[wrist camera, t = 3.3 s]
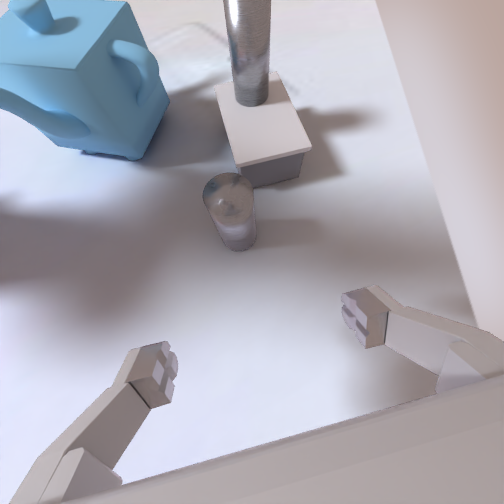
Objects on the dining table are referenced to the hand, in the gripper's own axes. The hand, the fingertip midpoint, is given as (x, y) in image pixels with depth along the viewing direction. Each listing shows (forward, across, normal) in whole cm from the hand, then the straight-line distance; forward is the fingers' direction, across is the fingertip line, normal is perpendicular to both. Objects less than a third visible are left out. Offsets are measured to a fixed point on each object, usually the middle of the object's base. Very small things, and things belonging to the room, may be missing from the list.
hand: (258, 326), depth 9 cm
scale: (+27, -6, -7) cm, 28 cm away
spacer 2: (+18, 0, +2) cm, 18 cm away
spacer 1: (+25, -6, -14) cm, 29 cm away
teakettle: (+34, +15, -14) cm, 40 cm away
